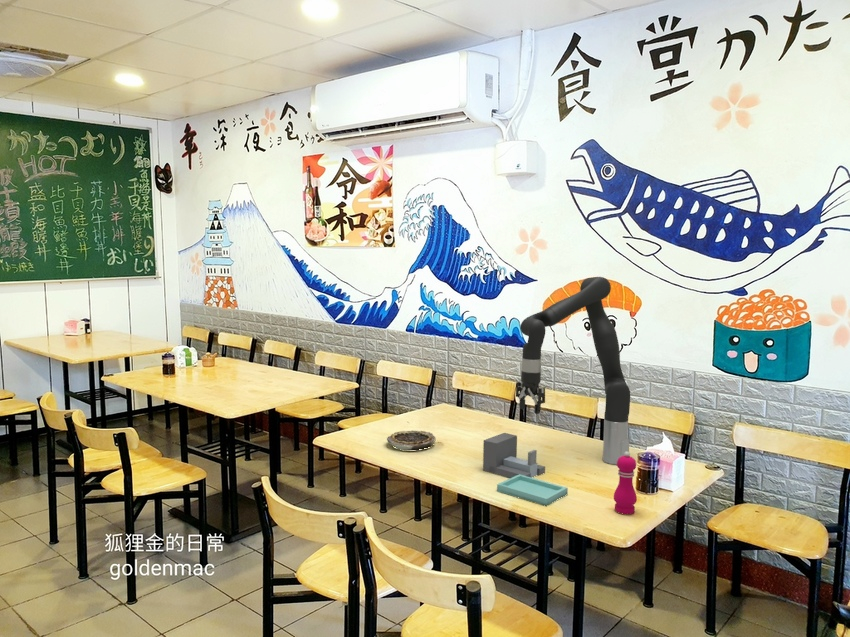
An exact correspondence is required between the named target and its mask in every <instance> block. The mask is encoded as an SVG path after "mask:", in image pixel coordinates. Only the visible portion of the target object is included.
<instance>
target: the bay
mask: <svg viewBox="0 0 850 637" xmlns="http://www.w3.org/2000/svg"><path fill="white" fill-rule="evenodd" d="M482 448H483V450H482V452H483V453H482V454H483V458H482V461H483V462H482V471H483V472H486V471H487V473H491V474H494V475H497V476H500V475H501V477H504V478H508V479H510V478H512V477H514V476H517V475H519V474H520V475H524V476H527V477H531V473H529V472H525V471H521V470H518V469H514V468H510V467H507V466H503V459H505V458H508V457H510V456H512V457H516V458H518V457H517V456H518V455H517V453H518V452H517V450H518V449H517V448H518V435H516V434H512V433H507V432H503V433H500V434H497V435H494V436H491V437H489V438H486V439H483V447H482ZM543 473H544V474H546V466H545V465H541V464H537V476H539V475H540V476H541V474H542V475H544V474H543Z"/></svg>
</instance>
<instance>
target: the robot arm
mask: <svg viewBox="0 0 850 637" xmlns="http://www.w3.org/2000/svg"><path fill="white" fill-rule="evenodd" d="M611 286H612V285H611V283H610V281H609V279H608V278H605V277H603V276H593V277H587V278H585V279H583V280H582V281H581V283H580V287H579V288H580V291H578V292H577V293H576V292H575V294H572V295H570V296H568V297H565V298H563V299H561V300H558V301H557V302H555V303H553V304H551V305H550V306H548V307H546V308H545V309H544V310H542V311H538V312H536V313H534V314H531V315H529V316H528V317H526V318H525V319H523V320H522V321H521V324H520V329H519V330H520V332H521V333H522V334H523V335H525V336H526V337H528V338H527V342H526V343H524V344H523V346H522V358H521V369H520V371H521V372H520V381H517V382H516V387H515V397H517V398H518V400H519V402H518V403H519V409H520V410H525V409H526V398H527V396H528V397H530V398H531V400H533V402H534V414H536V415H539V414H540V413H541V405H542V404H546V388H545V387H540V383H541V380H542V346H543V344H544V340H545V335H546V328H547V327H552V326H553V327H554V326H555V325H557V324H558V323H560V322H561V321H563V320H565V319H566V318H568V317H570V316H571V315H572V314H574V313H576V312H578V311H579V310H581V309H583V308H585V310H586V313H587V317H588V322H589V326H590V329H591V334H592V341H593V344H594V349H595V351H596V355H597V358H598V361H599V363H600V367H601V370H602V375H603V385H604V392H605V406H604V407H605V409H604V417H603V418H604V420H603V443H602V444H603V445H602V461H603V462H604V463H606V464H610V465H616V466H617V460H618V459H619V458H620V457H621V456H624V453H625V452H629V453H630V438H628V433H629V432H628V429H629V416H630V409H631V408H630V406H631V390H630V387H629V386H628V384H627V382H626V380H625V376H624V374H623V370H622V366H621V352H620V344H619V339H618V335H617V331H616V328H615V326H614V324H613V322H612V321H611V320H610V318H609V317H608V315H607V313H606V311H605V308H604V305H603V302H602V300H604V299H605V298H607V297H608V296H609V295H610V293H611V289H612V287H611Z"/></svg>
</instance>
